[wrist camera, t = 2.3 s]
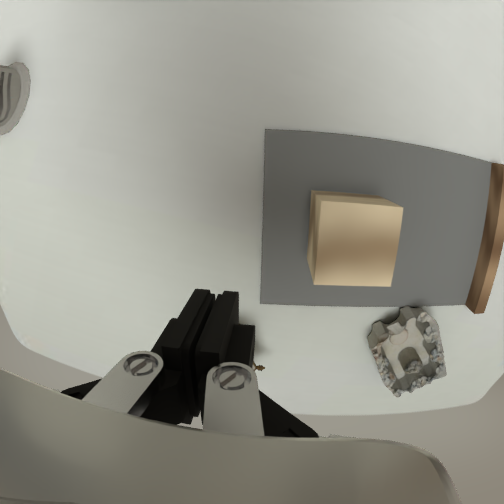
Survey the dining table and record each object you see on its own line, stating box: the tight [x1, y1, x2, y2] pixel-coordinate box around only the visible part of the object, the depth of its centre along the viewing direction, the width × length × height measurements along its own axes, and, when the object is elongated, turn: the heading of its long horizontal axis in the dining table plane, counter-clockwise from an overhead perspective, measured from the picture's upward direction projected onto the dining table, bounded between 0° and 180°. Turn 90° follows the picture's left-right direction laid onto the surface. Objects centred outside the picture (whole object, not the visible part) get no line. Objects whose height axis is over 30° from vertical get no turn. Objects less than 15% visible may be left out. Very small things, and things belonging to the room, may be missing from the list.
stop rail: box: [465, 163, 504, 314], centre depth 23 cm, size 16×2×2 cm, turn 179°
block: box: [306, 190, 403, 287], centre depth 23 cm, size 6×6×6 cm
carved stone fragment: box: [368, 306, 446, 397], centre depth 27 cm, size 11×8×4 cm
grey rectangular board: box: [260, 129, 491, 307], centre depth 25 cm, size 16×24×1 cm
